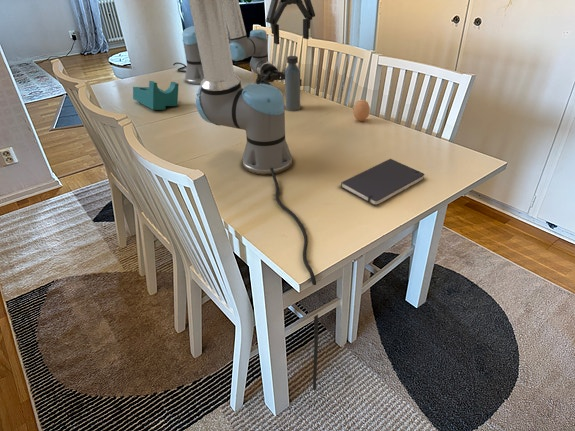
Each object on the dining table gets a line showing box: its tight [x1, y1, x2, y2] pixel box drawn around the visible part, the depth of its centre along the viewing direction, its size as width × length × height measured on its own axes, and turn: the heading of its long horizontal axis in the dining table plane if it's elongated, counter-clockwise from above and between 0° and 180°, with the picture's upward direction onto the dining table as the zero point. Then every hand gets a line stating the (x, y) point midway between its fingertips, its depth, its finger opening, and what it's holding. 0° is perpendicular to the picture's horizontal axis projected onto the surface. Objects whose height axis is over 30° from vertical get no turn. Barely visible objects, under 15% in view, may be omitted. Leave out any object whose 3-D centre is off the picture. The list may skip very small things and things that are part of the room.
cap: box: [286, 55, 299, 65], centre depth 153 cm, size 4×4×2 cm
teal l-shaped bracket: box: [132, 80, 179, 111], centre depth 168 cm, size 18×11×10 cm, turn 43°
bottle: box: [284, 63, 301, 112], centre depth 158 cm, size 6×6×19 cm
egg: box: [352, 99, 371, 122], centre depth 149 cm, size 6×6×8 cm
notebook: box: [340, 158, 425, 206], centre depth 114 cm, size 13×2×21 cm
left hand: (285, 85), depth 166 cm, fingers open, 13 cm apart
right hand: (291, 41), depth 149 cm, fingers open, 12 cm apart
